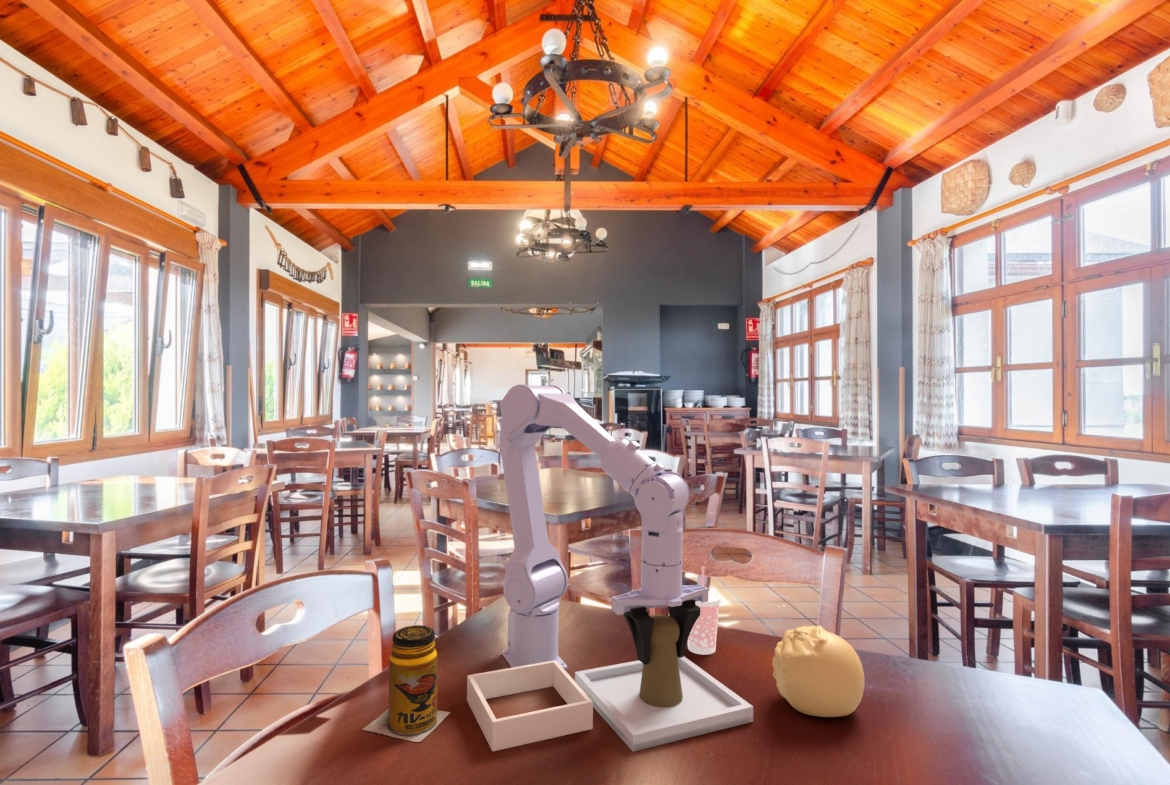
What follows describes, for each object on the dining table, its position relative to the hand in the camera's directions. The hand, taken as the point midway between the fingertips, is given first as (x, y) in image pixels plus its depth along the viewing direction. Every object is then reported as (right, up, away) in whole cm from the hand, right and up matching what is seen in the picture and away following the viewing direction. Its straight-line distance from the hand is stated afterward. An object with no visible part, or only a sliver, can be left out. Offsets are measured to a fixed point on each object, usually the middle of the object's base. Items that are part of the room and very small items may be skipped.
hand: (660, 658), depth 87 cm
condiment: (-34, -6, -6) cm, 35 cm away
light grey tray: (0, -6, 0) cm, 6 cm away
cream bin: (-18, -6, -4) cm, 19 cm away
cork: (0, -6, 0) cm, 6 cm away
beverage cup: (+9, -7, +18) cm, 22 cm away
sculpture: (+22, -7, 0) cm, 23 cm away
